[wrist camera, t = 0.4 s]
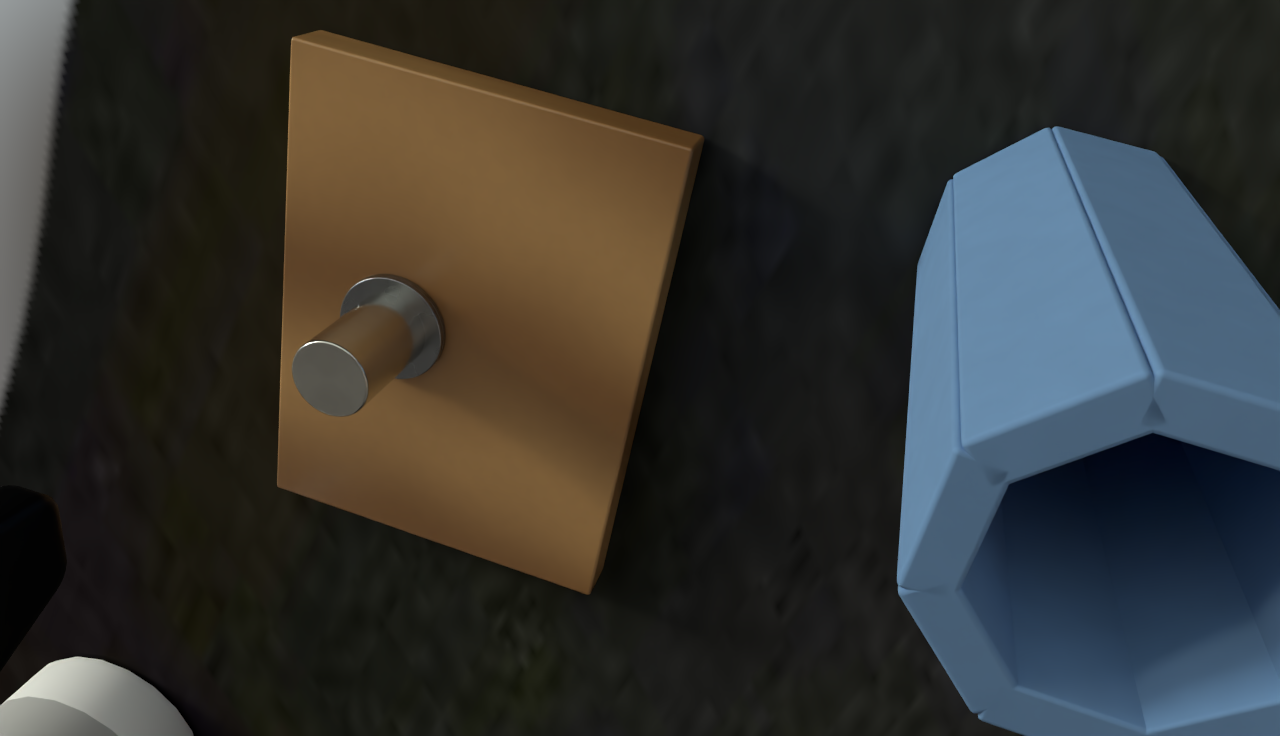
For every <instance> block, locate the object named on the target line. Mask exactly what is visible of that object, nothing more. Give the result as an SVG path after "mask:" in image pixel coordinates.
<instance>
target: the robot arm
mask: <svg viewBox="0 0 1280 736" xmlns="http://www.w3.org/2000/svg"><path fill="white" fill-rule="evenodd" d="M66 563H67V560H66V552H65V546H64V540H63V533H62V527H61V521H60V515H59V509H58V506H57V504H56V502H55V501H54V500H53V499H52V498H51V497H50V496H48V495H45V494H42V493H39V492H35V491H32V490H29V489H26V488H22V487H19V486H13V485H8V486H2V487H0V671H1V670H2V668H3V667H4V666H5V664H6V663H7V661H8V660H9V658H10V657H11V655H12V654H13V653H14V651H15V650H16V648H17V647H18V645H19V644H20V642H21V641H22V640H23V638H24V637H25V635H26V634H27V632H28V631H29V630H30V628H31V627H32V625H33V624H34V622H35V621H36V619H37V618H38V617H39V615H40V614H41V612H42V611H43V609H44V608H45V606H46V605H47V604H48V602H49V601H50V599H51V598H52V596H53V595H54V593H55V592H56V591H57V589H58V587H59V586H60V584H61V582H62V579H63V577H64V574H65V570H66Z"/></svg>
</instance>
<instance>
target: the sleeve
mask: <svg viewBox="0 0 1280 736" xmlns="http://www.w3.org/2000/svg"><path fill="white" fill-rule="evenodd" d="M897 583H898V594H899V596H900V597H901V599H902V600H903V602H904V604H905V605H906V607H907V609H908V610H909V612H910V613H911V615H912V617H913V618H914V620H915V622H916V623H917V625H918V626H919V628H920V630H921V631H922V633H923V635H924V636H925V638H926V639H927V641H928V643H929V644H930V646H931V648H932V649H933V651H934V652H935V654H936V656H937V657H938V659H939V661H940V662H941V664H942V665H943V667H944V669H945V670H946V672H947V674H948V675H949V677H950V678H951V680H952V682H953V683H954V685H955V687H956V688H957V690H958V691H959V693H960V695H961V696H962V698H963V700H964V701H965V703H966V704H967V706H968V708H969V709H970V711H971V712H973V713H978V718H979V719H980V720H981V721H984V722H987V723H989V724H992V725H995V726H998V727H1001V728H1004V729H1007V730H1010V731H1013V732H1015V733H1018V734H1021V735H1024V736H1280V310H1279V308H1278V307H1277V306H1276V304H1275V303H1274V302H1273V301H1272V299H1271V298H1270V297H1269V295H1268V294H1267V293H1266V291H1265V290H1264V289H1263V287H1262V286H1261V285H1260V284H1259V282H1258V281H1257V280H1256V278H1255V277H1254V276H1253V274H1252V273H1251V272H1250V270H1249V269H1248V268H1247V267H1246V265H1245V264H1244V263H1243V261H1242V260H1241V259H1240V257H1239V256H1238V255H1237V253H1236V252H1235V251H1234V250H1233V248H1232V247H1231V246H1230V244H1229V243H1228V242H1227V240H1226V239H1225V238H1224V236H1223V235H1222V234H1221V233H1220V231H1219V230H1218V229H1217V227H1216V226H1215V225H1214V223H1213V222H1212V221H1211V219H1210V218H1209V217H1208V216H1207V214H1206V213H1205V212H1204V210H1203V209H1202V208H1201V206H1200V205H1199V204H1198V202H1197V201H1196V200H1195V199H1194V197H1193V196H1192V195H1191V193H1190V192H1189V191H1188V189H1187V188H1186V187H1185V185H1184V184H1183V183H1182V182H1181V180H1180V179H1179V178H1178V176H1177V175H1176V174H1175V172H1174V171H1173V170H1172V168H1171V167H1170V166H1169V165H1168V163H1167V162H1166V161H1165V159H1164V158H1163V157H1160V156H1159V155H1158V154H1157V153H1156V152H1154V151H1150V150H1146V149H1142V148H1138V147H1135V146H1131V145H1127V144H1123V143H1119V142H1115V141H1112V140H1108V139H1104V138H1100V137H1096V136H1093V135H1089V134H1085V133H1081V132H1077V131H1074V130H1070V129H1066V128H1062V127H1058V126H1057V127H1054V128H1053V129H1052V130H1051V129H1050V128H1044V129H1042V130H1040V131H1038V132H1037V133H1035V134H1033V135H1031V136H1029V137H1027V138H1025V139H1023V140H1021V141H1019V142H1017V143H1015V144H1013V145H1011V146H1009V147H1007V148H1005V149H1003V150H1001V151H999V152H997V153H995V154H993V155H991V156H989V157H987V158H985V159H983V160H981V161H979V162H977V163H975V164H973V165H972V166H970V167H968V168H966V169H964V170H962V171H960V172H958V173H956V174H955V175H954V176H953V179H952V180H949V181H948V182H947V185H946V188H945V191H944V193H943V196H942V199H941V202H940V204H939V207H938V210H937V213H936V215H935V218H934V221H933V224H932V226H931V229H930V232H929V235H928V237H927V240H926V243H925V246H924V248H923V251H922V254H921V257H920V259H919V262H918V265H917V280H916V295H915V311H914V326H913V341H912V356H911V371H910V386H909V402H908V417H907V432H906V447H905V462H904V477H903V493H902V508H901V523H900V538H899V553H898V568H897Z"/></svg>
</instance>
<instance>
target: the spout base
mask: <svg viewBox="0 0 1280 736" xmlns="http://www.w3.org/2000/svg"><path fill="white" fill-rule="evenodd" d="M703 143H704V137H703V136H702V135H698V134H695V133H691V132H688V131H684V130H680V129H677V128H673V127H670V126H666V125H662V124H659V123H655V122H651V121H648V120H644V119H641V118H637V117H633V116H630V115H626V114H623V113H619V112H615V111H612V110H608V109H604V108H601V107H597V106H594V105H590V104H586V103H583V102H579V101H576V100H572V99H568V98H565V97H561V96H558V95H554V94H550V93H547V92H543V91H539V90H536V89H532V88H529V87H525V86H521V85H518V84H514V83H511V82H507V81H503V80H500V79H496V78H492V77H489V76H485V75H482V74H478V73H474V72H471V71H467V70H464V69H460V68H456V67H453V66H449V65H446V64H442V63H438V62H435V61H431V60H427V59H424V58H420V57H417V56H413V55H409V54H406V53H402V52H399V51H395V50H391V49H388V48H384V47H380V46H377V45H373V44H370V43H366V42H362V41H359V40H355V39H352V38H348V37H344V36H341V35H337V34H333V33H330V32H326V31H323V30H319V31H315V32H311V33H307V34H303V35H300V36H296V37H293V38H292V40H291V63H290V94H289V126H288V158H287V189H286V221H285V252H284V284H283V316H282V347H281V379H280V411H279V442H278V474H277V486H278V487H279V488H282V489H285V490H288V491H291V492H293V493H296V494H299V495H302V496H305V497H308V498H311V499H313V500H316V501H319V502H322V503H325V504H328V505H331V506H334V507H336V508H339V509H342V510H345V511H348V512H351V513H354V514H357V515H359V516H362V517H365V518H368V519H371V520H374V521H377V522H380V523H382V524H385V525H388V526H391V527H394V528H397V529H400V530H403V531H405V532H408V533H411V534H414V535H417V536H420V537H423V538H425V539H428V540H431V541H434V542H437V543H440V544H443V545H446V546H448V547H451V548H454V549H457V550H460V551H463V552H466V553H469V554H471V555H474V556H477V557H480V558H483V559H486V560H489V561H492V562H494V563H497V564H500V565H503V566H506V567H509V568H512V569H514V570H517V571H520V572H523V573H526V574H529V575H532V576H535V577H537V578H540V579H543V580H546V581H549V582H552V583H555V584H558V585H560V586H563V587H566V588H569V589H572V590H575V591H578V592H581V593H583V594H586V595H589V594H590V593H591V592H592V590H593V588H594V586H595V584H596V582H597V580H598V578H599V576H600V573H601V571H602V569H603V566H604V562H605V558H606V553H607V549H608V545H609V541H610V536H611V532H612V528H613V524H614V519H615V515H616V511H617V507H618V503H619V498H620V494H621V490H622V486H623V481H624V477H625V473H626V469H627V465H628V460H629V456H630V452H631V448H632V443H633V439H634V435H635V431H636V426H637V422H638V418H639V414H640V410H641V405H642V401H643V397H644V393H645V388H646V384H647V380H648V376H649V372H650V367H651V363H652V359H653V355H654V350H655V346H656V342H657V338H658V334H659V329H660V325H661V321H662V317H663V312H664V308H665V304H666V300H667V295H668V291H669V287H670V283H671V279H672V274H673V270H674V266H675V262H676V257H677V253H678V249H679V245H680V241H681V236H682V232H683V228H684V224H685V219H686V215H687V211H688V207H689V202H690V198H691V194H692V190H693V186H694V181H695V177H696V173H697V169H698V164H699V160H700V156H701V152H702V148H703Z"/></svg>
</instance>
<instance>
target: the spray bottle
mask: <svg viewBox="0 0 1280 736" xmlns="http://www.w3.org/2000/svg"><path fill="white" fill-rule="evenodd" d="M0 736H194V735H193V732H192V730H191V729H190V727H189V726H188V724H187V723H186V721H185V720H184V719H183V717H182V716H181V714H180V713H179V711H178V710H177V708H176V707H175V706H174V705H173V704H171V703H170V702H169V701H168V700H167V699H166V698H165V697H164V696H163V695H162V694H161V693H160V692H159V691H158V690H157V689H156V688H155V687H153V686H152V685H150V684H149V683H147V682H146V681H144V680H143V679H141V678H140V677H138V676H137V675H135V674H133V673H132V672H130V671H129V670H127V669H124V668H121V667H119V666H116V665H114V664H111V663H109V662H106V661H104V660H100V659H92V658H85V657H73V658H68V659H63V660H58V661H55V662H52V663H49V664H48V665H47V666H45V667H44V668H43V669H42V670H40V671H39V672H38V673H37V674H36V675H34V676H33V677H32V678H31V679H30V680H29V681H28V682H26V683H25V684H24V685H23V686H22V687H21V688H20V689H19V690H17V691H16V692H15V693H14V694H13V695H12V696H11V697H10V698H8V699H7V700H6V701H5V702H4V703H3V704H2V705H1V706H0Z"/></svg>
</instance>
